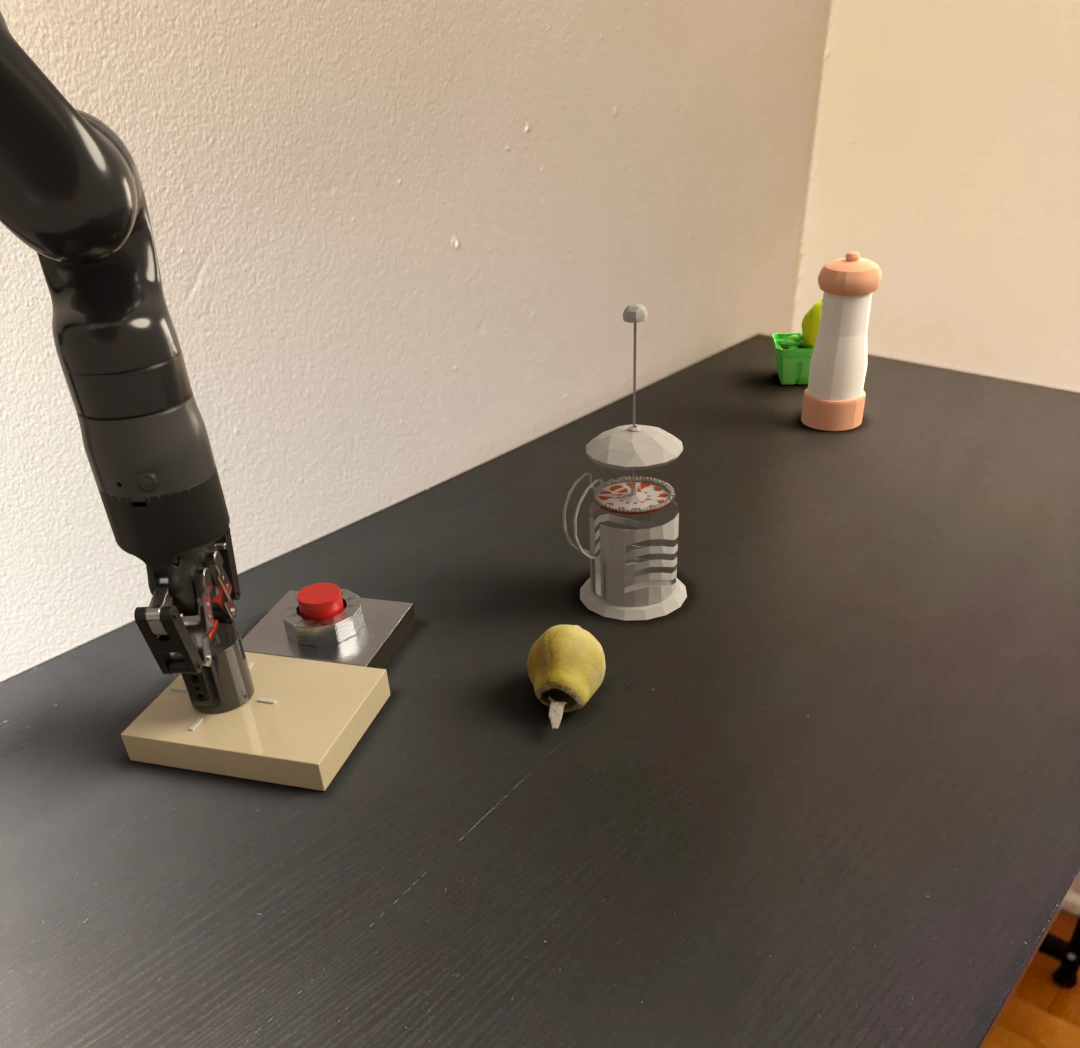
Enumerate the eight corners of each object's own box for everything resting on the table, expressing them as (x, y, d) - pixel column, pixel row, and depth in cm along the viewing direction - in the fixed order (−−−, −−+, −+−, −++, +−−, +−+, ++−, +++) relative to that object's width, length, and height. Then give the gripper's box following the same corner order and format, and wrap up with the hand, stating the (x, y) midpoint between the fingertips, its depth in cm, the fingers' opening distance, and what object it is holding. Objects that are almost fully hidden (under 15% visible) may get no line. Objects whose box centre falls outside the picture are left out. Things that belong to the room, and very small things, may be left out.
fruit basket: (851, 369, 136) (863, 282, 129) (861, 390, 129) (875, 299, 122) (767, 370, 137) (775, 284, 130) (773, 391, 130) (782, 302, 123)
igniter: (238, 671, 82) (227, 630, 80) (294, 611, 90) (285, 572, 87) (370, 688, 79) (362, 646, 77) (416, 624, 87) (410, 584, 84)
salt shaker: (872, 427, 118) (899, 255, 107) (816, 434, 117) (837, 262, 106) (845, 407, 124) (868, 242, 113) (791, 414, 123) (808, 248, 112)
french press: (709, 598, 88) (728, 304, 73) (602, 639, 83) (598, 334, 68) (644, 557, 95) (648, 280, 80) (542, 592, 90) (526, 307, 75)
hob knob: (246, 712, 73) (229, 652, 70) (182, 715, 73) (162, 655, 70) (261, 676, 77) (245, 617, 73) (200, 678, 77) (182, 620, 74)
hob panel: (130, 760, 73) (119, 732, 71) (214, 671, 82) (206, 645, 80) (324, 791, 69) (317, 762, 67) (391, 694, 78) (386, 667, 76)
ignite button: (293, 620, 81) (289, 601, 80) (312, 598, 84) (308, 580, 83) (332, 624, 80) (328, 606, 79) (351, 602, 83) (347, 584, 82)
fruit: (514, 739, 73) (524, 650, 80) (592, 756, 74) (595, 666, 80) (532, 685, 69) (541, 596, 76) (614, 703, 69) (616, 614, 76)
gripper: (137, 432, 70) (199, 635, 80) (53, 519, 58) (138, 744, 68) (241, 427, 69) (290, 632, 80) (177, 514, 58) (244, 741, 68)
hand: (219, 683), depth 74 cm, fingers closed on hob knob, 5 cm apart
